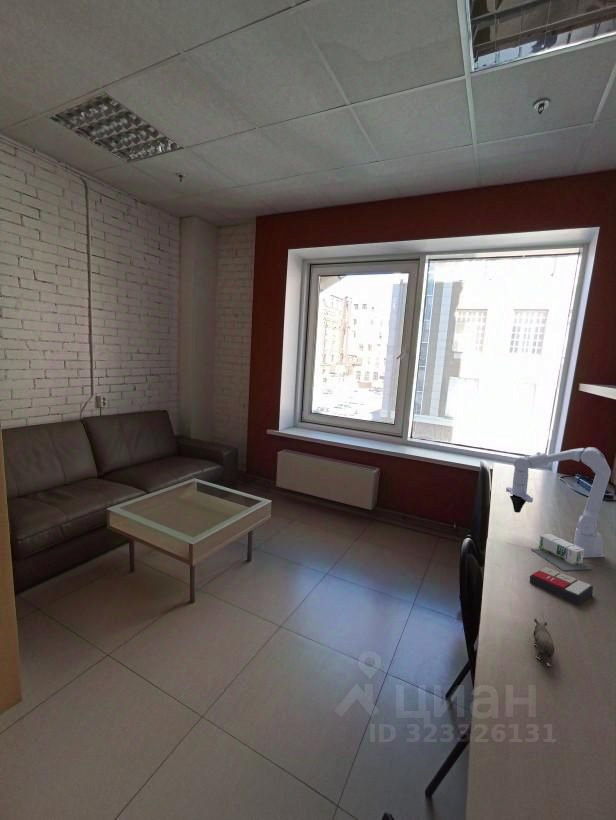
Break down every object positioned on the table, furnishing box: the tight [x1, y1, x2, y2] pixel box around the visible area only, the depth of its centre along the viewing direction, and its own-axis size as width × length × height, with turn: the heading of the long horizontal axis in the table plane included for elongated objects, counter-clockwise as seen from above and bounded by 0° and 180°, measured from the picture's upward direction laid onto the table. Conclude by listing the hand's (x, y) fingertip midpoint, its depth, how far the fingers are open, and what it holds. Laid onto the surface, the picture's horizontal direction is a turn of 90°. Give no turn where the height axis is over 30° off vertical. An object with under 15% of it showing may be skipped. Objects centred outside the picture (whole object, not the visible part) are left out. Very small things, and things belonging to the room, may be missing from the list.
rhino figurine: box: [532, 618, 555, 664], centre depth 97 cm, size 4×14×6 cm, turn 155°
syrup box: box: [538, 533, 584, 565], centre depth 147 cm, size 6×6×14 cm
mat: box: [531, 548, 592, 572], centre depth 145 cm, size 12×16×1 cm
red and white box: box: [529, 566, 594, 607], centre depth 125 cm, size 11×4×15 cm
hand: (517, 511), depth 166 cm, fingers closed
